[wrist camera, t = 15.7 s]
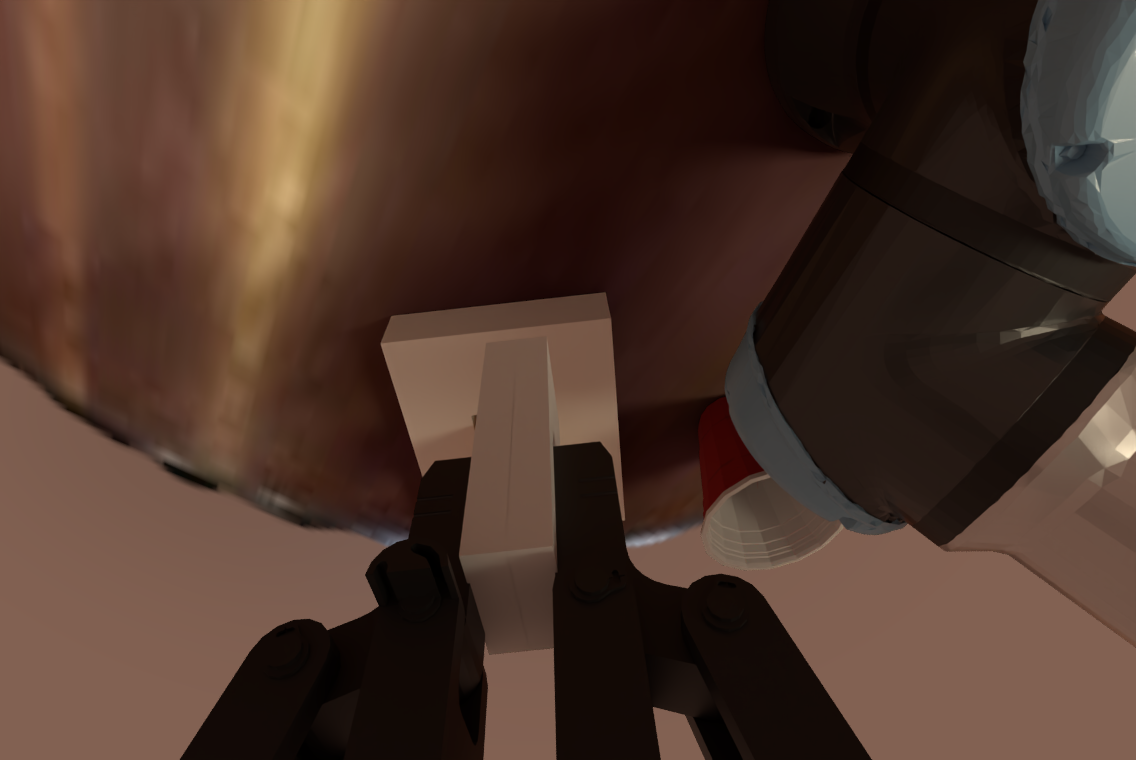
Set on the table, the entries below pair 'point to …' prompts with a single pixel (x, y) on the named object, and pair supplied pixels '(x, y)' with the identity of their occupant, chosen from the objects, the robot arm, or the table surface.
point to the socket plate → (455, 363)
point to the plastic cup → (750, 504)
